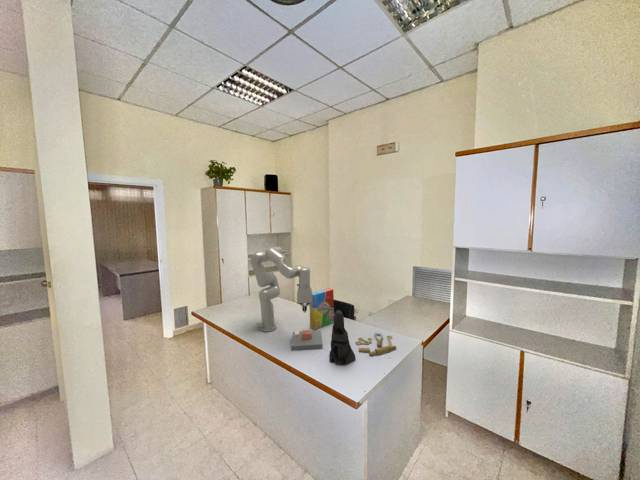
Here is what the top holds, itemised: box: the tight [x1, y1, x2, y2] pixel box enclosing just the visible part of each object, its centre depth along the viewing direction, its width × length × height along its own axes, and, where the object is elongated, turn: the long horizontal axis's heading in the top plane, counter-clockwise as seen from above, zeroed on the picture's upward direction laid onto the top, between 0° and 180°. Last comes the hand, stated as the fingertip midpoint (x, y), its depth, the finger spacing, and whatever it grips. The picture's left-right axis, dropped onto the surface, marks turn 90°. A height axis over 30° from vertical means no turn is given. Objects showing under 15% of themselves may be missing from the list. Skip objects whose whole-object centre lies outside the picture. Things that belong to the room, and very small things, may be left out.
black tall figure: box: [328, 309, 357, 366], centre depth 149 cm, size 14×14×30 cm
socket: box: [290, 329, 324, 351], centre depth 173 cm, size 20×20×4 cm
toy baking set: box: [354, 332, 397, 356], centre depth 167 cm, size 33×25×4 cm
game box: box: [308, 287, 335, 331], centre depth 197 cm, size 21×6×27 cm, turn 129°
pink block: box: [302, 329, 312, 340], centre depth 172 cm, size 6×6×7 cm
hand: (304, 311), depth 173 cm, fingers closed
